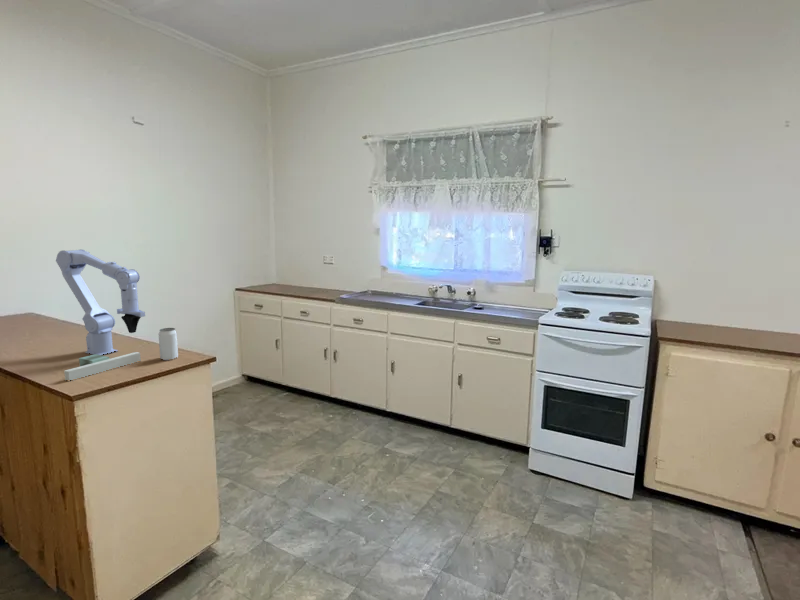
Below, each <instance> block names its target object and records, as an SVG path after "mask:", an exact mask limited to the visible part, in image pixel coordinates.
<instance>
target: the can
mask: <svg viewBox="0 0 800 600" xmlns="http://www.w3.org/2000/svg"><path fill="white" fill-rule="evenodd" d="M158 345H159V355H160V356H159V357H160V360H161V359H163V360H162V361H170V360H169V359H174V358H176V357H177V358H178V357H179V349H178V346H179V345H178V334H177V331H176V327H175V328H174V327H165V328H160V329H159V332H158ZM177 358H176V359H177ZM174 360H175V359H174Z"/></svg>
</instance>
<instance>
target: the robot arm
mask: <svg viewBox="0 0 800 600" xmlns="http://www.w3.org/2000/svg"><path fill="white" fill-rule="evenodd" d="M55 262H56V264H57V265H58V267H59V269H60V270H61V274H62V277H63V279H64V280H65V282H66V284H67V285H68V287H69V288H70V290H71V291H72V294H73V296H75V298H76V300H77V302H78V303H79V305H80V306H81V308H82V310H83V312H84V313H85V314H84V315H83V317H82V321H83V323H84V327H85V330H86V331H87V332H88V333H87V335H86V336H85V338H86V339H85V341H86V342H85V343H86V349H87V351H85V352H84V353H85V354H89V353H90V355H94V354H98V355H102V356H104V355H108V354H112V353H115V352H114V351H116V352H118V351H119V350H118V349H115V348H114V347H113V344H114V343H113V335H112V331H113V327H115V324H116V320H115V318H114V316H113V315H112V314H111V313H109V311H108V310H107V309H105V308H102V307H101V306H100V305H99V303H98V301H97V300H96V298H95V297H94V295H93V293H92V292H91V290H90V288H89V287H88V285H87V283H86V282H85V280H84V278H83V277H82V275H81V274H82V272H83V270H84V269H85V267H86V266H87V265H88V266H91V267H93V268H95V269H98V270H101V272H102V275H104V276H107V277H109V278H111V279H114V280H115V281H116V283H117V284H118V287H119V288H118V289H120V299H121V307H122V308H116V314H118V315H122V316H121V318H120V319H122V321H123V322H124V324H125V326H126V328H127V330H128V332H129V334H134V333H136V332H137V327H138V324H139V321H140V320H141V318H143V317H146V312H145V311H143V310H141V309H139V308H140V307H139V296H138V283H139V281H140V274H139V272H138V270H135V269H128V268H127V267H126V266H122V265H119V264H117V262H116V261H107V262H106V261H104V260H102V259H101V258H98V257H96V256H95V255H93V254H91V253H90V251H87V250H85V249H75V250H74V249H72V250H71V249H70V250H60V251H58V253H57V255H56V259H55ZM111 352H112V353H111ZM107 353H108V354H107ZM103 354H104V355H103Z"/></svg>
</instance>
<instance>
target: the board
mask: <svg viewBox="0 0 800 600" xmlns="http://www.w3.org/2000/svg"><path fill="white" fill-rule="evenodd" d="M141 358H142V357H141V352H138V351H136V352H135V351H133V352H131V353H127V354H123V355H120V356H119V355H118V356H116V357H112V358H109V359H107V360H103V361H100V362H96V363H92V364H88V365H84V366H80V365H79V366H77V367H73V368H69V369H65V370H63V371H64V373H63V374H64V380H65V381H66V380H73V379H77V378H80V379H82V378H81V377H84V378H86V377H85V376H87V377H89V376H88V375H91V376H93V375H92V374H94V375H97V374H96V373H98V374H100V373H99V372H102V373H104V372H103V371H105V372H107V371H106V370H109V369H112V368H116V367H119V368H121V367H120V366H123V367H125V366H124V365H126V366H128V365H127V364H130V365H132V364H131V363H133V364H135V363H134V362H137V361H141V362H142V359H141ZM137 363H138V362H137ZM116 369H117V368H116ZM112 370H113V369H112ZM109 371H110V370H109ZM77 380H78V379H77ZM73 381H74V380H73Z"/></svg>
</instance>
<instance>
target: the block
mask: <svg viewBox="0 0 800 600" xmlns="http://www.w3.org/2000/svg"><path fill="white" fill-rule="evenodd" d="M107 359H110V356H107V355H98V354H90V355H87V356H83V357H79V358H78V360H79V361H78V362H79V363H78V364H79V367H80V366H84V365H88V364H92V363H96V362H100V361H103V360H107Z"/></svg>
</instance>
